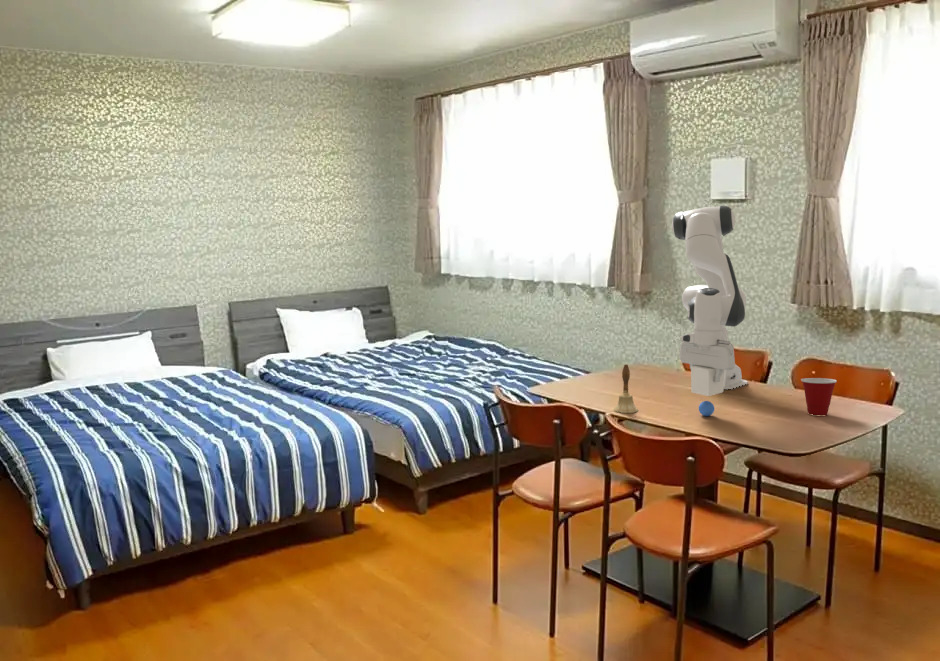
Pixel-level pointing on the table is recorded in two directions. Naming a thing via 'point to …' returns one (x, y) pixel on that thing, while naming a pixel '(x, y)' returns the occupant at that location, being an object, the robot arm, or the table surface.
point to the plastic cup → (818, 394)
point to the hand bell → (625, 395)
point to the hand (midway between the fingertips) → (706, 379)
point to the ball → (706, 408)
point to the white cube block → (705, 381)
